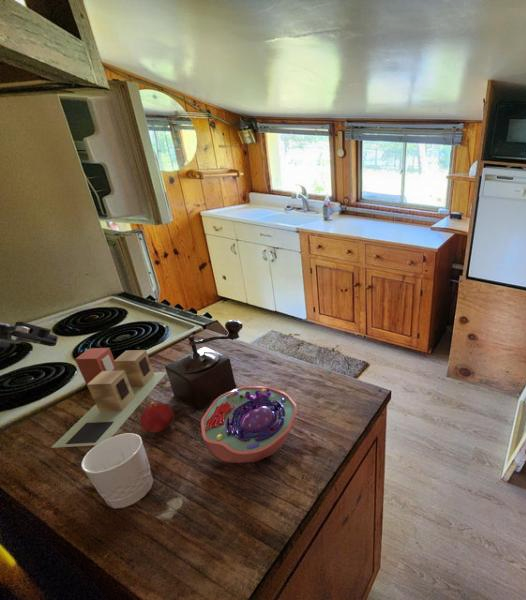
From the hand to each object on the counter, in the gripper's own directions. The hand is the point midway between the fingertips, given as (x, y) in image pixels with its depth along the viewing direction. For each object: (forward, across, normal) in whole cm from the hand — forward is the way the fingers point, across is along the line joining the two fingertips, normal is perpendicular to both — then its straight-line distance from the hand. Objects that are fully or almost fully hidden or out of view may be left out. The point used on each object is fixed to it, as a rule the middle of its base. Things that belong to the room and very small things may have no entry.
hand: (32, 342), depth 67 cm
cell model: (+5, -45, +22) cm, 50 cm away
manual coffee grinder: (+18, -30, +9) cm, 36 cm away
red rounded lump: (+8, -24, +19) cm, 31 cm away
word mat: (+14, -10, +12) cm, 21 cm away
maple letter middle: (+14, -10, +12) cm, 21 cm away
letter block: (+22, 0, +5) cm, 22 cm away
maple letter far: (+20, -10, +6) cm, 23 cm away
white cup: (-2, -26, +29) cm, 39 cm away
